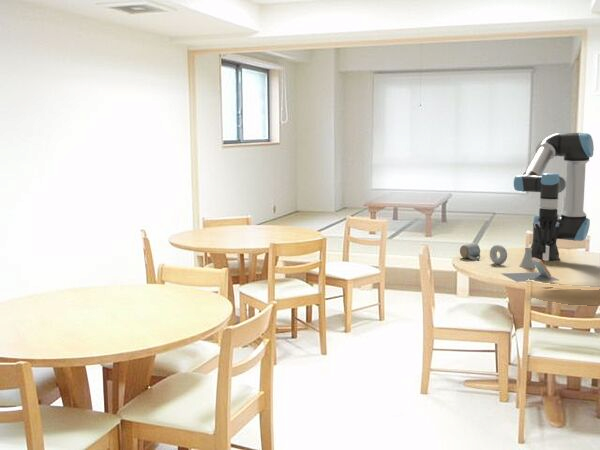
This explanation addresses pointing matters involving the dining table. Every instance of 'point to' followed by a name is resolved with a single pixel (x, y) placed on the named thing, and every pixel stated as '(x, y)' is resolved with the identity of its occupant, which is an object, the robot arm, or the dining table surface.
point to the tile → (541, 267)
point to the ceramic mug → (470, 251)
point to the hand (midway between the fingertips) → (545, 260)
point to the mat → (528, 277)
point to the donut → (494, 254)
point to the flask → (527, 259)
